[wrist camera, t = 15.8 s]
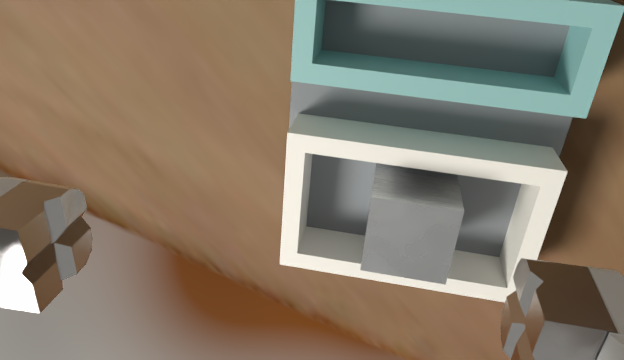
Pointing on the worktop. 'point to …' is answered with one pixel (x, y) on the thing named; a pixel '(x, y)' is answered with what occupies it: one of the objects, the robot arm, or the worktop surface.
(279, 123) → the worktop surface
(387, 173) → the steel block
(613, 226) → the worktop surface
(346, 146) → the holder
